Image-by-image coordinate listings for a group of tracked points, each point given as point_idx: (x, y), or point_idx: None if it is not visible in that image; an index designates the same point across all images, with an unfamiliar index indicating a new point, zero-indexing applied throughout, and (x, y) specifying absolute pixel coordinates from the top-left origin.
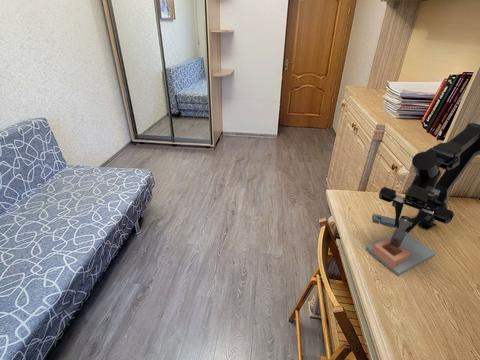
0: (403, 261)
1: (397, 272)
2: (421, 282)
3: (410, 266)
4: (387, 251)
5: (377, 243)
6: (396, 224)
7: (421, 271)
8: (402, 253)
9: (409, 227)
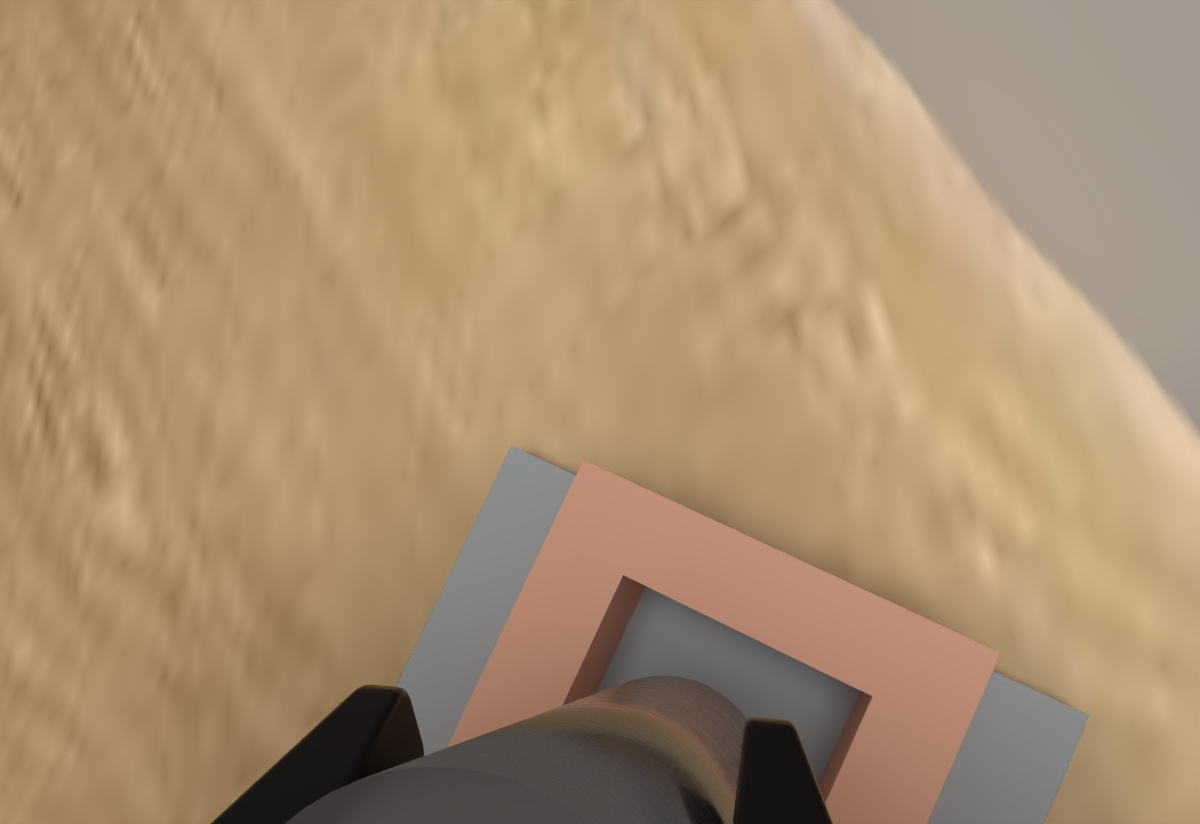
0: None
1: (532, 455)
2: (262, 550)
3: None
4: (741, 628)
5: (956, 736)
6: (764, 783)
7: None
8: None
9: None
